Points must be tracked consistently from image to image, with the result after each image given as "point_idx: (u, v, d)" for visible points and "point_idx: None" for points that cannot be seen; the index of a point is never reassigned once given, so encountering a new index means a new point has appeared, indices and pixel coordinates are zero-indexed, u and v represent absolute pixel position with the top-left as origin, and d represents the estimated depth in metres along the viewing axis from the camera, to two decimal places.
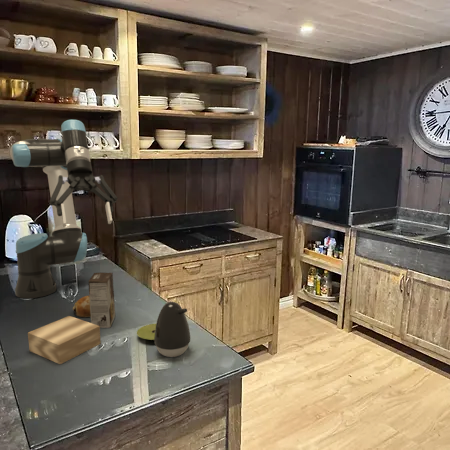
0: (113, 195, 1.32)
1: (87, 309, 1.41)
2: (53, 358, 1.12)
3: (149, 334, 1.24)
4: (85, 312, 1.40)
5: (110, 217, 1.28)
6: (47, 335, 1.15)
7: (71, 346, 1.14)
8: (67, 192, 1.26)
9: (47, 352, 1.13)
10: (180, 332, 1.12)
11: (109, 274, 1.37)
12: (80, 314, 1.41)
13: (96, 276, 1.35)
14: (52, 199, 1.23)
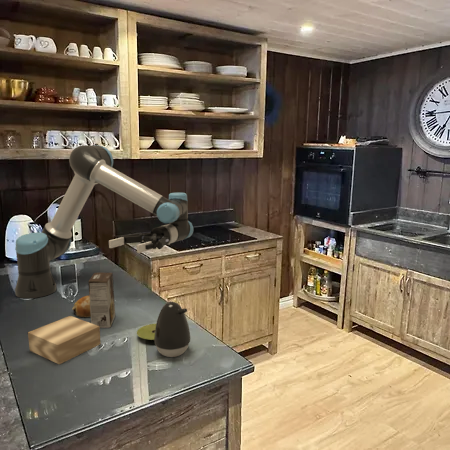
0: None
1: (87, 309, 1.41)
2: (52, 358, 1.12)
3: (149, 334, 1.24)
4: (85, 312, 1.40)
5: None
6: (47, 335, 1.16)
7: (70, 347, 1.13)
8: None
9: (47, 352, 1.13)
10: (180, 332, 1.12)
11: (109, 274, 1.37)
12: (80, 314, 1.41)
13: (96, 276, 1.35)
14: None
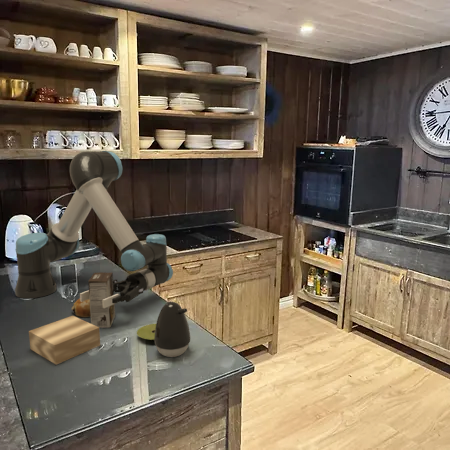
0: None
1: (86, 309, 1.41)
2: (50, 357, 1.12)
3: (149, 334, 1.24)
4: (84, 312, 1.40)
5: None
6: (47, 334, 1.16)
7: (68, 347, 1.13)
8: None
9: (45, 351, 1.13)
10: (180, 332, 1.12)
11: (109, 274, 1.37)
12: (79, 314, 1.41)
13: (96, 275, 1.35)
14: None
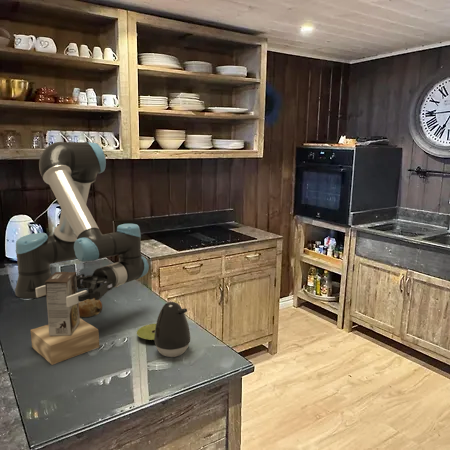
0: None
1: (85, 309, 1.41)
2: (47, 358, 1.12)
3: (149, 334, 1.24)
4: (83, 312, 1.41)
5: None
6: (46, 334, 1.16)
7: (65, 348, 1.13)
8: None
9: (43, 351, 1.14)
10: (180, 332, 1.12)
11: (72, 273, 1.19)
12: None
13: (56, 275, 1.17)
14: None
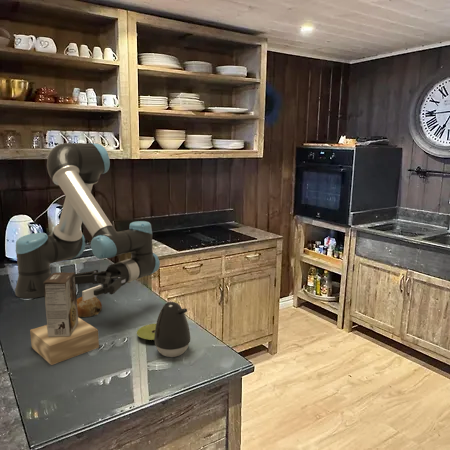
0: None
1: (85, 309, 1.41)
2: (47, 358, 1.12)
3: (149, 334, 1.24)
4: (82, 312, 1.41)
5: None
6: (45, 334, 1.16)
7: (64, 348, 1.13)
8: None
9: (43, 351, 1.14)
10: (180, 332, 1.12)
11: (70, 274, 1.19)
12: (78, 314, 1.41)
13: (54, 276, 1.16)
14: None
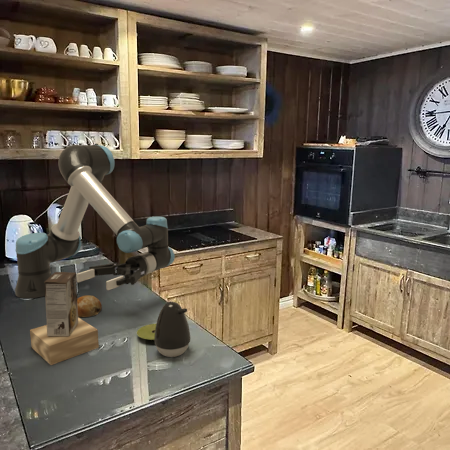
0: None
1: (85, 309, 1.41)
2: (46, 358, 1.12)
3: (149, 334, 1.24)
4: (82, 312, 1.41)
5: None
6: (45, 334, 1.16)
7: (64, 348, 1.13)
8: None
9: (42, 351, 1.14)
10: (180, 332, 1.12)
11: (71, 274, 1.19)
12: None
13: (56, 276, 1.16)
14: None
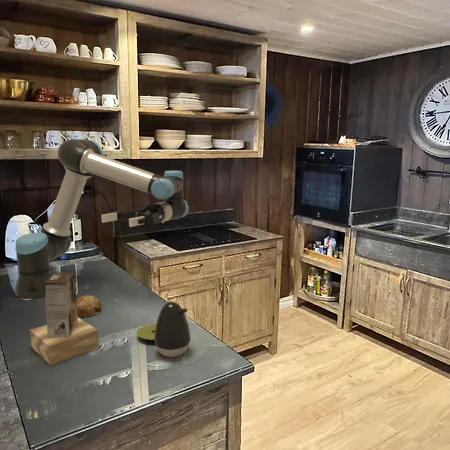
0: None
1: (84, 309, 1.41)
2: (46, 358, 1.12)
3: (149, 334, 1.24)
4: (82, 312, 1.41)
5: None
6: (45, 334, 1.16)
7: (64, 349, 1.13)
8: None
9: (42, 351, 1.14)
10: (180, 332, 1.12)
11: (70, 274, 1.18)
12: (77, 314, 1.41)
13: (54, 276, 1.16)
14: None
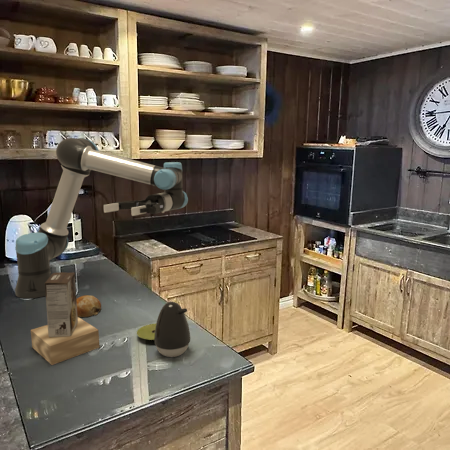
0: None
1: (84, 309, 1.41)
2: (47, 358, 1.12)
3: (149, 334, 1.24)
4: (82, 312, 1.41)
5: None
6: (46, 334, 1.16)
7: (65, 349, 1.13)
8: None
9: (43, 351, 1.14)
10: (180, 332, 1.12)
11: (70, 274, 1.19)
12: (77, 314, 1.41)
13: (55, 276, 1.16)
14: None
